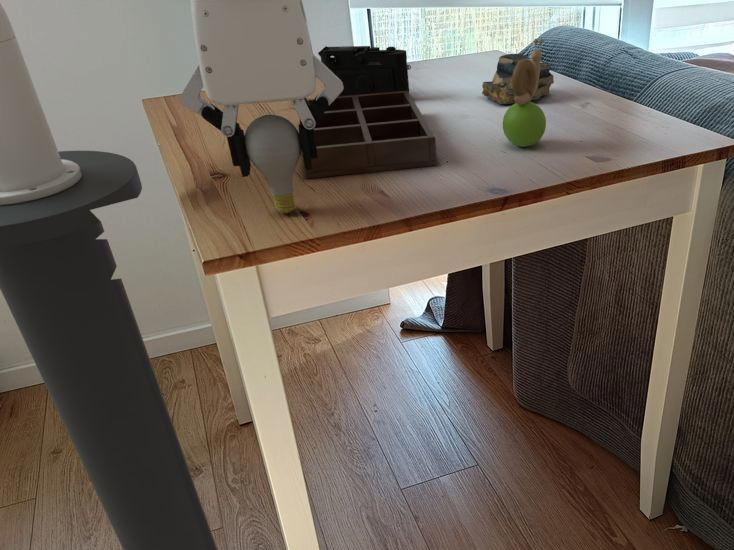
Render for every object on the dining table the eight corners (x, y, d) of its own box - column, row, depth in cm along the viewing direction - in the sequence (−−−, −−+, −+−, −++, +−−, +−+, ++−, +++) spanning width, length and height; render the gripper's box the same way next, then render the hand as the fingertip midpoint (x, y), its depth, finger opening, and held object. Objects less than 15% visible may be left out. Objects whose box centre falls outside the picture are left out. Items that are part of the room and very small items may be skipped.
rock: (477, 98, 107) (477, 59, 104) (525, 88, 111) (525, 50, 108) (511, 110, 101) (512, 69, 98) (560, 98, 105) (562, 59, 102)
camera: (417, 91, 112) (413, 37, 107) (411, 102, 106) (407, 47, 102) (331, 92, 113) (323, 39, 109) (320, 104, 107) (312, 49, 103)
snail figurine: (555, 140, 89) (559, 40, 82) (533, 155, 84) (536, 50, 78) (518, 134, 91) (519, 36, 85) (494, 148, 87) (494, 46, 80)
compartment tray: (306, 178, 80) (301, 149, 78) (303, 124, 98) (299, 99, 97) (436, 165, 82) (435, 137, 81) (409, 114, 101) (407, 90, 99)
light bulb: (297, 198, 75) (280, 104, 69) (322, 213, 71) (307, 115, 66) (250, 212, 72) (229, 115, 67) (274, 228, 69) (253, 127, 63)
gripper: (337, -46, 63) (360, 149, 74) (141, -35, 61) (193, 165, 71) (342, -39, 57) (366, 173, 67) (124, -27, 55) (184, 191, 65)
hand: (277, 167), depth 69 cm, fingers closed on light bulb, 5 cm apart
